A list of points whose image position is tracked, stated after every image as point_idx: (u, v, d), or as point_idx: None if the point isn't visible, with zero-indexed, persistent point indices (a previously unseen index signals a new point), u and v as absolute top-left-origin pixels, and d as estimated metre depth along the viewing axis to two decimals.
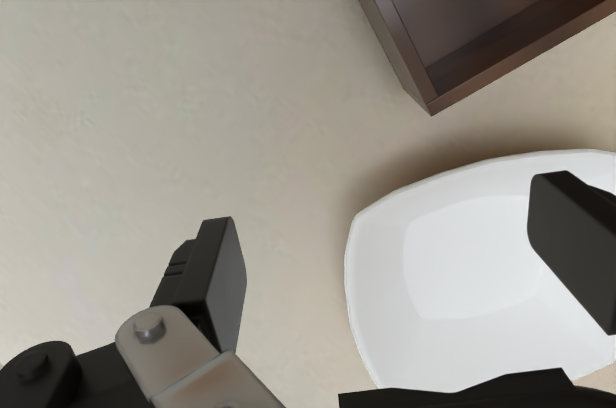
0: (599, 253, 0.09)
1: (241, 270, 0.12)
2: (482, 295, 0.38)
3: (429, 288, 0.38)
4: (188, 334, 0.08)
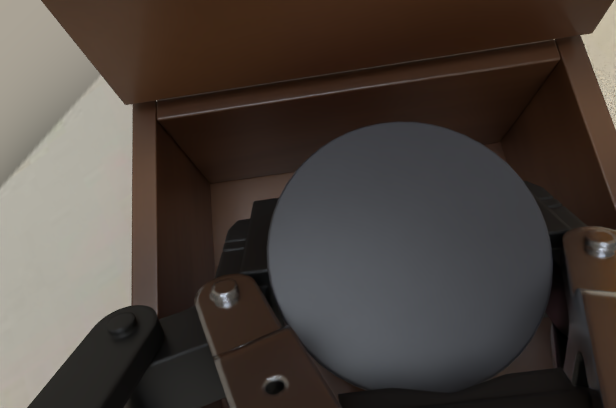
0: None
1: None
2: None
3: None
4: (264, 298, 0.08)
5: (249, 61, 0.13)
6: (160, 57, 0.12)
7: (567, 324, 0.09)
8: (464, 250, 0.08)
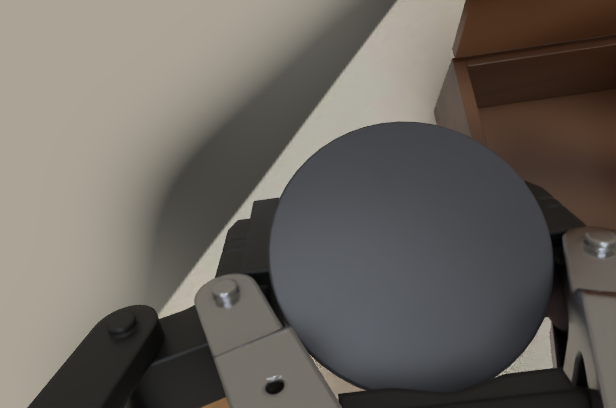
0: None
1: None
2: None
3: None
4: (264, 297, 0.08)
5: (529, 35, 0.27)
6: (493, 32, 0.27)
7: (567, 324, 0.09)
8: (465, 250, 0.08)
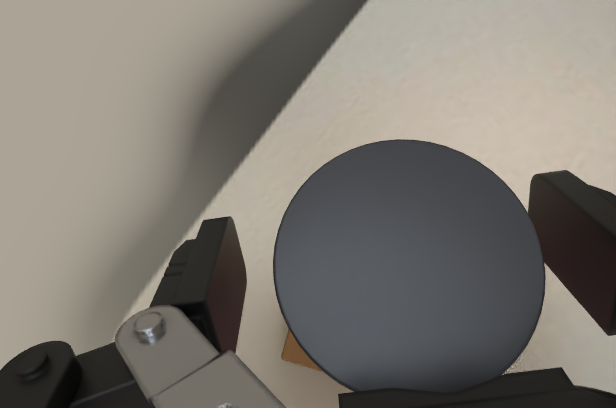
0: (599, 253, 0.09)
1: (241, 270, 0.12)
2: None
3: None
4: (188, 334, 0.08)
5: None
6: None
7: None
8: (461, 264, 0.09)
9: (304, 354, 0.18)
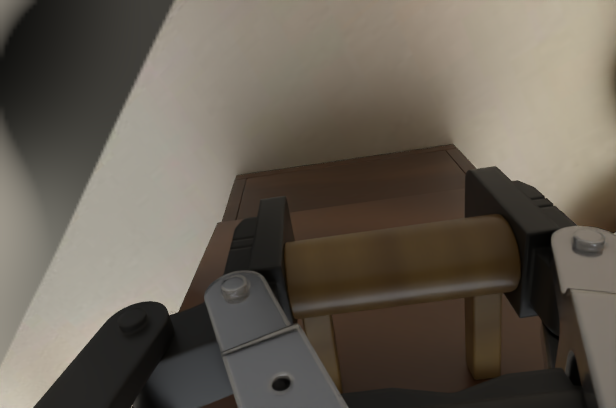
0: None
1: None
2: None
3: None
4: (274, 294, 0.08)
5: None
6: None
7: (556, 323, 0.09)
8: None
9: None
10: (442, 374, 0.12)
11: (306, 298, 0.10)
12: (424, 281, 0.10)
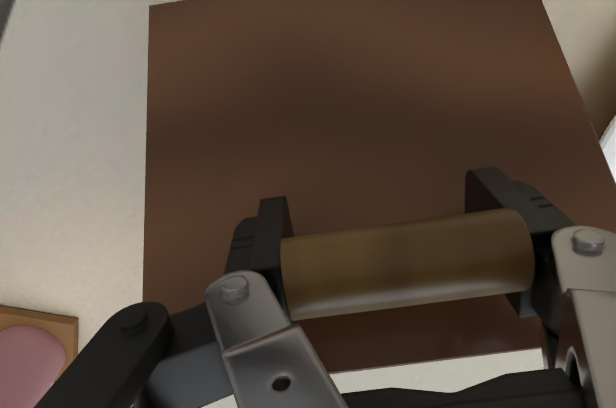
0: None
1: None
2: None
3: None
4: (274, 294, 0.08)
5: None
6: None
7: (556, 323, 0.09)
8: None
9: None
10: None
11: (308, 318, 0.09)
12: (429, 300, 0.09)
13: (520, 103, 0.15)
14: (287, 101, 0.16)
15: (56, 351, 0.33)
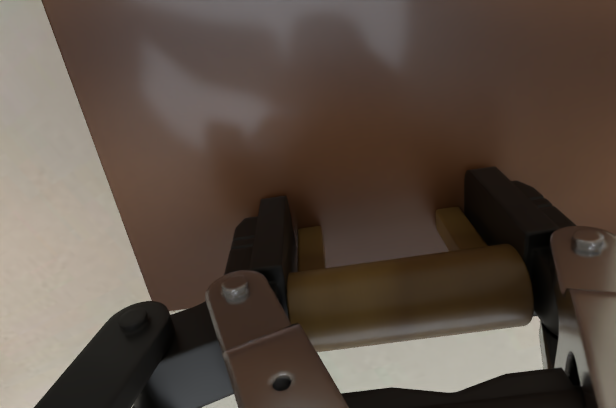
0: (509, 242, 0.10)
1: (294, 247, 0.13)
2: None
3: None
4: (275, 294, 0.08)
5: None
6: None
7: (555, 323, 0.09)
8: None
9: None
10: (411, 221, 0.13)
11: None
12: None
13: None
14: None
15: None
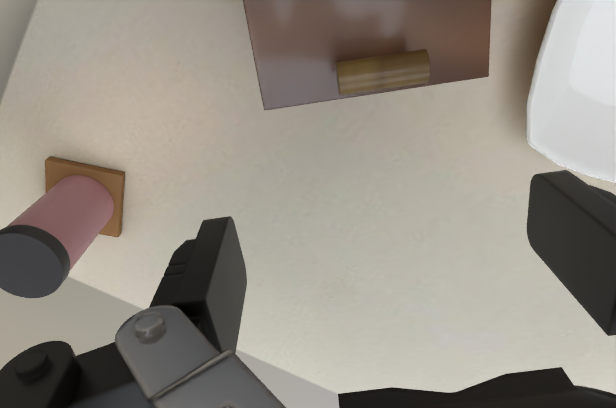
0: (599, 253, 0.09)
1: (241, 270, 0.12)
2: None
3: None
4: (188, 334, 0.08)
5: None
6: None
7: None
8: (38, 267, 0.31)
9: None
10: None
11: None
12: None
13: None
14: None
15: (107, 198, 0.39)
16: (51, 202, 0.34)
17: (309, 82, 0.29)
